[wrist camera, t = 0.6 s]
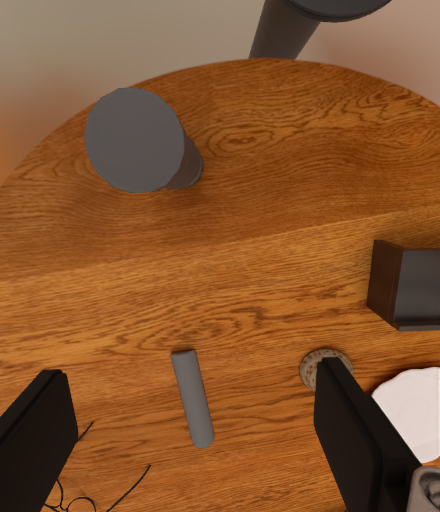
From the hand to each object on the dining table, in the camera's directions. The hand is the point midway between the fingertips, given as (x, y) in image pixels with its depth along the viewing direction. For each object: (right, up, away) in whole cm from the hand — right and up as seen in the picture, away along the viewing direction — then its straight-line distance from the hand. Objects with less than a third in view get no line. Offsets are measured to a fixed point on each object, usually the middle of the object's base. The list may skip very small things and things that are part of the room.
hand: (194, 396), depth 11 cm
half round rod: (-4, -20, +40) cm, 45 cm away
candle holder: (-5, +18, +30) cm, 35 cm away
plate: (+36, -23, +42) cm, 60 cm away
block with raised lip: (+34, +3, +35) cm, 49 cm away
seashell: (+19, -14, +39) cm, 46 cm away
